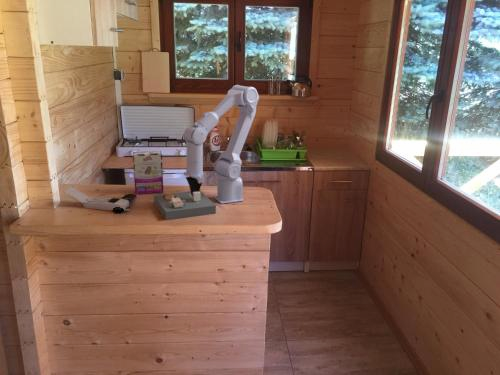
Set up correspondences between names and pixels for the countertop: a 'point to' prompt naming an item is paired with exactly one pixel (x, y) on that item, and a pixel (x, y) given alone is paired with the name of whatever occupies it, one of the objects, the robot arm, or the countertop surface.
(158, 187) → the candy bar box
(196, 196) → the tan rectangular block
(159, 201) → the panel
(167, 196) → the push button
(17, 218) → the countertop surface
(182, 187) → the countertop surface
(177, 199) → the rocker switch
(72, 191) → the white long dark-ended device
